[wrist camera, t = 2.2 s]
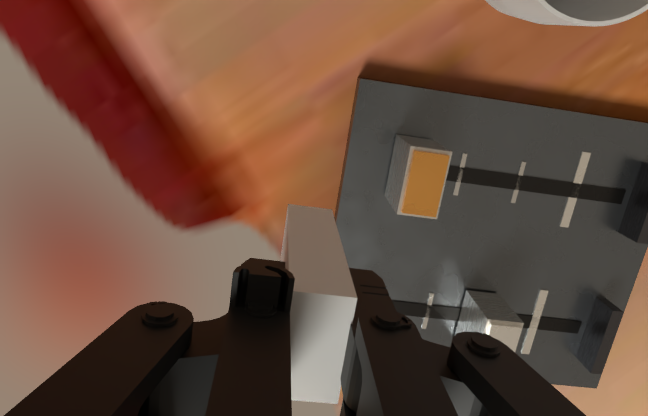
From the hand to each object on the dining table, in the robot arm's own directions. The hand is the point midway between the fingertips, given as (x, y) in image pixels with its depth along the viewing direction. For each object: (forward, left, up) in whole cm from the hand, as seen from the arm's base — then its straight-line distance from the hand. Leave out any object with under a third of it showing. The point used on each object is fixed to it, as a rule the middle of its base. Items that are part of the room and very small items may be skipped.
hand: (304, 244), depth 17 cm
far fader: (+10, +14, -15) cm, 23 cm away
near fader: (0, +7, -15) cm, 17 cm away
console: (+5, +14, -17) cm, 22 cm away
